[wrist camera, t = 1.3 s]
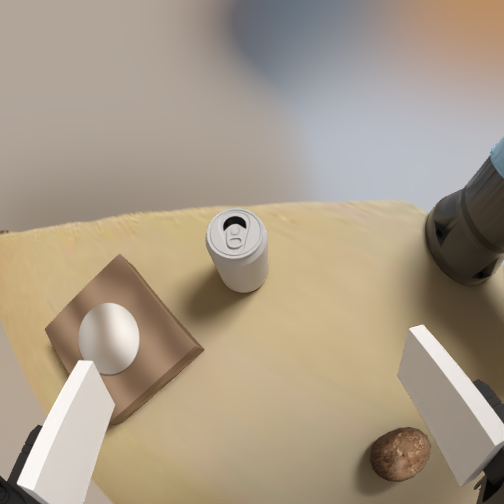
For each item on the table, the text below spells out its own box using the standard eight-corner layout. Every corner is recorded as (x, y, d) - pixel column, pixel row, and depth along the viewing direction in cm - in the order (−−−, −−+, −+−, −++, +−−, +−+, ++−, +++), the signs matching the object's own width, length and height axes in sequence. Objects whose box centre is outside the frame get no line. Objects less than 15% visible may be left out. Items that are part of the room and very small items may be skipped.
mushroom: (412, 492, 24) (426, 481, 21) (357, 481, 29) (363, 469, 25) (428, 442, 30) (441, 424, 27) (377, 433, 34) (384, 414, 31)
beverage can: (266, 247, 42) (263, 200, 31) (270, 292, 40) (270, 258, 29) (220, 251, 42) (202, 206, 31) (222, 296, 40) (203, 264, 29)
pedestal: (134, 266, 42) (118, 252, 37) (204, 349, 37) (194, 345, 32) (64, 335, 39) (42, 328, 34) (122, 422, 33) (103, 426, 28)
